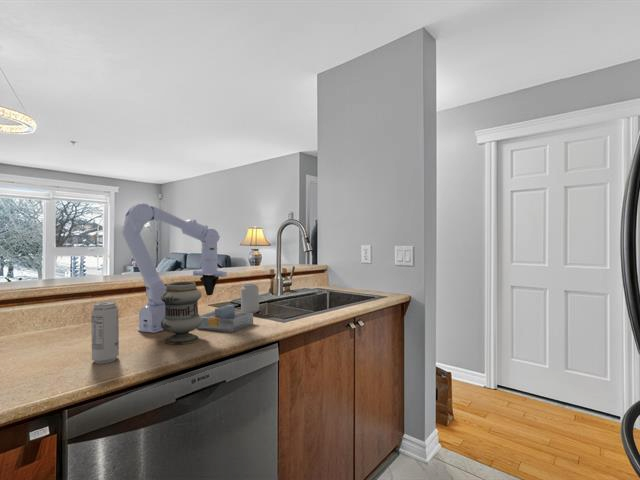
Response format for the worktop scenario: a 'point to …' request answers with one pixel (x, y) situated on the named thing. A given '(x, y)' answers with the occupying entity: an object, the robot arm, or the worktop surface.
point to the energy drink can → (105, 332)
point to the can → (250, 298)
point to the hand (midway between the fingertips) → (209, 295)
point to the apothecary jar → (181, 312)
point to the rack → (226, 321)
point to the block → (224, 311)
